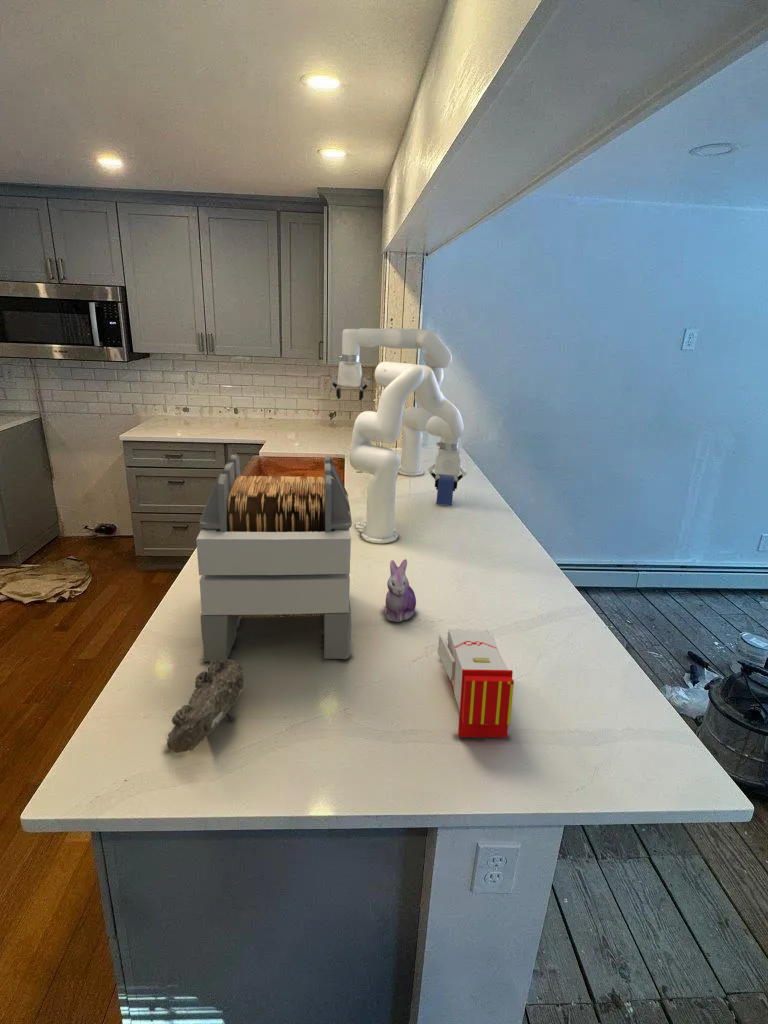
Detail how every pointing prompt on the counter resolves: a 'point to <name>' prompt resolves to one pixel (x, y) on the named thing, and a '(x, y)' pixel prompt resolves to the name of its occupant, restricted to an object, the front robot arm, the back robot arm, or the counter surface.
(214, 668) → the fossil
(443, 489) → the block
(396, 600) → the figurine
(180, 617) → the counter surface
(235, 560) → the record crate
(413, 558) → the counter surface
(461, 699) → the toy
